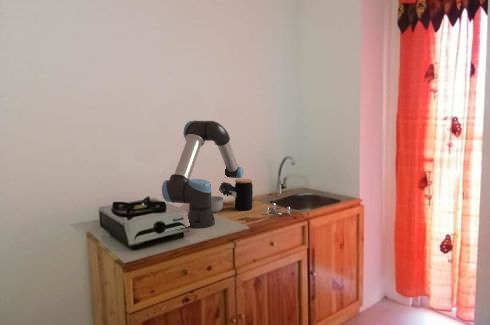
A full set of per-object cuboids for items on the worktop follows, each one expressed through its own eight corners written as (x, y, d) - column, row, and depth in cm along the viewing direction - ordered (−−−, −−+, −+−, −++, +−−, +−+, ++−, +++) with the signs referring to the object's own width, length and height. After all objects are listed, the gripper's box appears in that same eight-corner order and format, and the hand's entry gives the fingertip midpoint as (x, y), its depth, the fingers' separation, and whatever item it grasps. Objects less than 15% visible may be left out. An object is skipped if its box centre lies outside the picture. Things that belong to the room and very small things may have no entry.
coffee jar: (238, 206, 239) (238, 178, 237) (254, 207, 236) (254, 179, 234) (232, 210, 229) (232, 181, 227) (249, 211, 226) (249, 181, 224)
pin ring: (274, 217, 213) (274, 210, 213) (258, 212, 224) (258, 205, 224) (290, 213, 221) (290, 207, 220) (274, 209, 232) (274, 202, 232)
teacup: (224, 208, 233) (224, 196, 232) (221, 213, 222) (221, 200, 221) (202, 208, 234) (202, 195, 233) (198, 212, 223) (198, 199, 222)
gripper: (240, 191, 256) (260, 196, 239) (208, 196, 241) (228, 202, 224) (240, 180, 255) (260, 185, 239) (208, 184, 240) (228, 189, 223)
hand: (244, 193), depth 231 cm, fingers open, 13 cm apart
